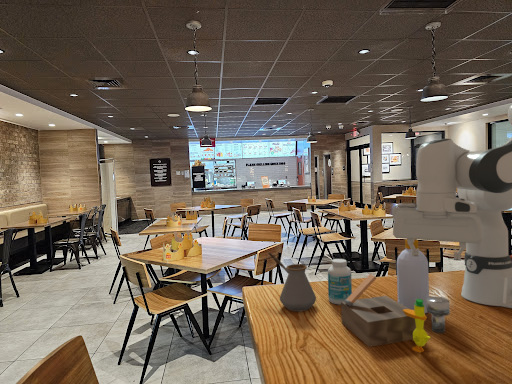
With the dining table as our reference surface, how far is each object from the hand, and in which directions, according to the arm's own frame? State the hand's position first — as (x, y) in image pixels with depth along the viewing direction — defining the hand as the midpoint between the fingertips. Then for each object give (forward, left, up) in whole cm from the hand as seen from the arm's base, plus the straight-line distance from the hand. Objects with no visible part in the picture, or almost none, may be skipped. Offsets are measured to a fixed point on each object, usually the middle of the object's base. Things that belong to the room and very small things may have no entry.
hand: (435, 257), depth 87 cm
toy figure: (+11, +7, -19) cm, 23 cm away
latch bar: (+16, -9, -10) cm, 21 cm away
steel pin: (0, 0, -19) cm, 19 cm away
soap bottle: (-3, -14, -19) cm, 24 cm away
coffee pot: (+30, -32, -19) cm, 48 cm away
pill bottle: (+14, -27, -19) cm, 36 cm away
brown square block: (+14, -5, -19) cm, 24 cm away
